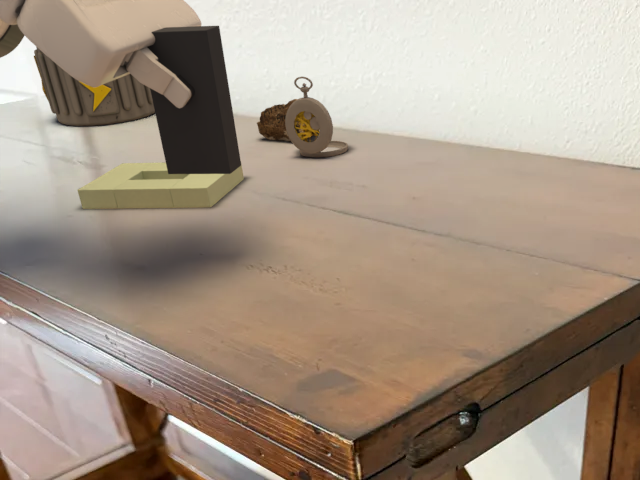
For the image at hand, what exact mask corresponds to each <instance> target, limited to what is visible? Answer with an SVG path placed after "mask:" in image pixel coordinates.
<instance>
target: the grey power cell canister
mask: <svg viewBox="0 0 640 480" xmlns="http://www.w3.org/2000/svg"><path fill="white" fill-rule="evenodd" d="M35 47H36V46H35ZM33 53H34V55H33V60H34V62H35V65H36V68H37V71H38V74H39V77H40V80H41V89H42V92H43V94H44V95H45V98H46V99H47V102H48V105H49V108H50V111H51V113H52V114H54V115H55V116H56V119H57V121H58V123H60V124H62V125H65V126H71V127H92V126H93V127H95V126H106V125H113V124H114V125H115V124H120V123H121V124H122V123H126V122H131V121H135V120H136V121H137V120H139V119H143V118H147V117H149V116H151V115H153V114H155V109H154V105H153V100H152V95H151V91H150V88H149V87H147V86H145V85H143V84H142V83H140V82H139V81H138V80H137V79H136V78H135V77H134V76H132V75H131V74H128V75H126V76H123V77H121V78H118V79H115V80H113V81H110V82H108V83H105V84H103V85H100V86H98V87H91V86H89V85H86V84H84V83H82V82H80V81H78V80H76V79H75V78H73V77H72V76H70V75H69V74H68V73H67V72H65V71H64V70H63V69H62V68H61V67H59V66H58V65H57V64H56V63H55V62H53V61H52V60H51V59H50V58H49V57H48V56H46V55H45V54H44V53H43V52H42V51H41V50H40V49H39V48H37V47H36V49H35V50H33Z"/></svg>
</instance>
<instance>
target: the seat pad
mask: <svg viewBox="0 0 640 480" xmlns="http://www.w3.org/2000/svg"><path fill="white" fill-rule="evenodd" d="M244 179H245V176H244V171H243V165H242V163H241V166H240V167H238V168H237V169H236V170H235V171H233V172H232V173H231V174H168V171H167V166H166V161H164V162H128V163H127V162H125V163H120V164H119V165H117V166H116V167H114V168H111V169H110V170H109V171H107V172H105V173H103V174H101V175H100V176H98V177H97V178H95V179H93V180H91V181H90V182H89V183H86V184H85V185H82V187H80V188H78V189H77V190H76V191H77V194H78V197H79V201H80V204H81V207H82V209H83V210H109V209H110V210H112V209H113V210H115V209H119V210H120V209H122V210H123V209H190V208H191V209H193V208H194V209H195V208H197V209H200V208H201V209H202V208H204V209H205V208H212V207H213V206H214V205H216V204H217V203H218V202H219V201H220V200H221V199H222V198H224V197H226V195H228V193H230V192H232V190H233V189H234V188H235V187H237V186H238V185H239V184H240V183H241V182H243V181H244Z"/></svg>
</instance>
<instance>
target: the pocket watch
mask: <svg viewBox="0 0 640 480" xmlns="http://www.w3.org/2000/svg"><path fill="white" fill-rule="evenodd" d="M300 79H304V80H306V81H308V82H309V83H310V85H309V86H307V83H306V82H303V83H302V84H301V87H300V86H299V85H298V84H297V82H298V80H300ZM293 84H294V86H295V88H297V89H298V90H300V92H301V93H303V97H299V98H296V99H297V100H296V101H294V102H293V103H292V104H291V105H290V107H289V109H288V111H287V113H286V118H285V125H286V131H287V134H288V136H289V139H290V140H291V141H290V142H291V143H292V145H293V146H294V147H295V148H296V149H298V151H299V154H300V155H301V156H303V157H305V158H330V157H336V156H339V155H342V154H344V153H346V152H347V151H348V150H349V144H348V143H347V142H345V141H340V140H332V138H333V134H334V124H333V120H332V117H331V115H330V112H329V111H328V109H327V107H325V105H324V104H323V103H322V102H320V101H319V100H318V99H315V98H313V97H309V96H308V93H309V92H310V90H311V89H312V88H313V86H314V83H313V81H312V80H311V79H310V78H309V77H307V76H298V77H296V78H295V79H294V81H293ZM299 117H300V118H301V119H300V118H299ZM298 119H299V120H298ZM297 121H298V122H299V123H301V125H300V124H299V123H297ZM298 124H299V125H300V126H298ZM303 124H304V125H303ZM305 125H306V126H305ZM300 129H303V130H300ZM299 130H300V131H305V132H302V133H300V132H299ZM316 130H317V131H316ZM304 135H305V136H304ZM313 135H315V138H314V140H311V139H309V138H311V137H313ZM327 148H338V149H335V150H334V149H333V150H328V151H325V150H326V149H327Z"/></svg>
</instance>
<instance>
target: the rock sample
mask: <svg viewBox="0 0 640 480" xmlns="http://www.w3.org/2000/svg"><path fill="white" fill-rule="evenodd" d="M297 99H298V98H294V99H291V100H289V101H288V102H286V103H282V104H281V103H280V104H273V105H272V106H270V107H265V109H264V110H262V111H261V112H260V115H259V121H257V122H256V126H257V129H258V133H259V135H260V136H262V137H264V138H266V139H267V140H270V141H285V142H286V141H287V142H288V141H289V142H291V140H290V139H289V136H288V134H287V131H286V125H285V118H286V113H287V111H288V109H289V107H290V105H291V104H292V103H293V102H294V101H296V100H297ZM299 118H300V117H299ZM300 119H301V118H300ZM298 120H299V119H298ZM297 123H299V122H298V121H297ZM299 124H300V125H301V123H299ZM299 124H298V126H300V125H299ZM303 125H304V124H303ZM305 126H306V125H305ZM300 130H303V129H300ZM300 130H299V132H300V133H302V132H305V131H300ZM316 131H317V130H316ZM304 136H306V135H304Z"/></svg>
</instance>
